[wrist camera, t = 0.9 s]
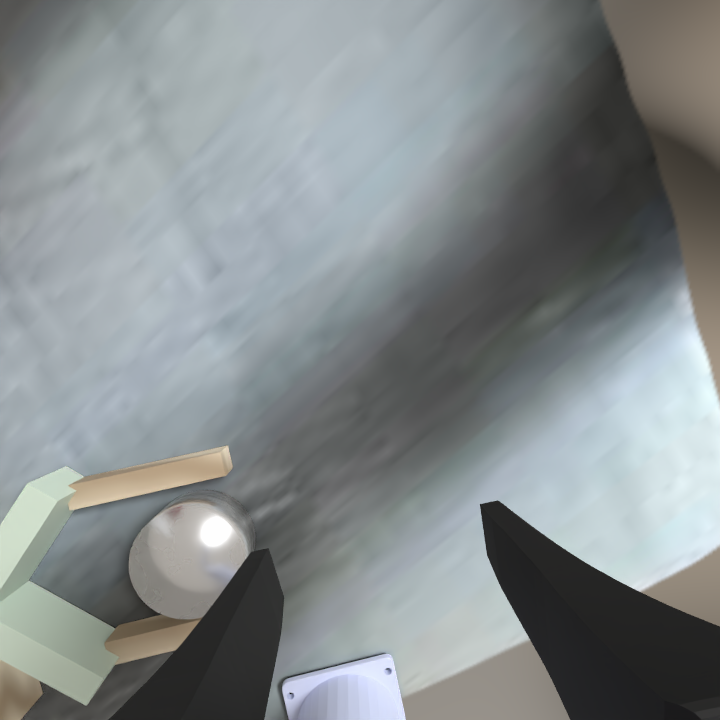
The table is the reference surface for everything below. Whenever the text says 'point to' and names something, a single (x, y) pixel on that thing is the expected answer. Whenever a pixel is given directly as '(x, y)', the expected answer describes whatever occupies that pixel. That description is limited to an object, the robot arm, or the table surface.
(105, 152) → the table surface
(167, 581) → the aluminium cover
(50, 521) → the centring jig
